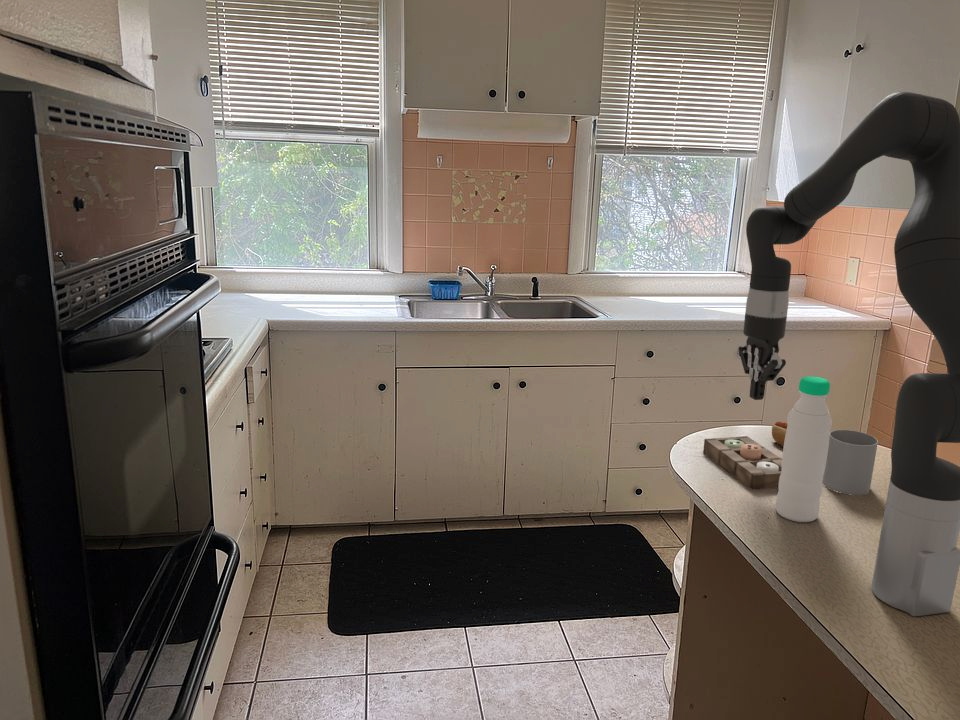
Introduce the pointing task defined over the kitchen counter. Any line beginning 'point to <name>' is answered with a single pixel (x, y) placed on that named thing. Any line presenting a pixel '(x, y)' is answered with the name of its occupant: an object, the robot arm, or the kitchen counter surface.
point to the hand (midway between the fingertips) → (756, 398)
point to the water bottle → (805, 452)
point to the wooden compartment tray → (744, 462)
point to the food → (779, 432)
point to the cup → (850, 462)
